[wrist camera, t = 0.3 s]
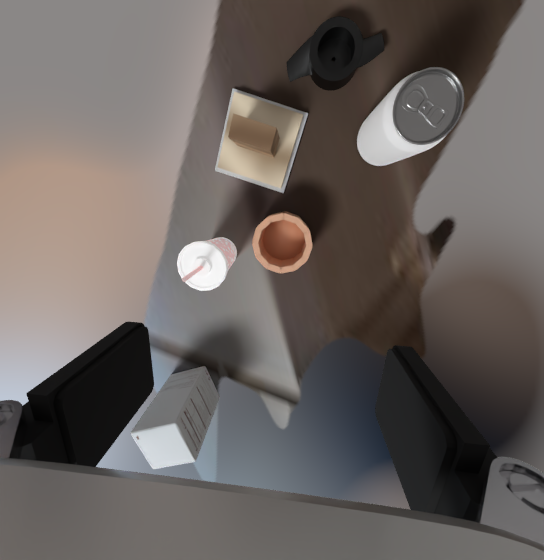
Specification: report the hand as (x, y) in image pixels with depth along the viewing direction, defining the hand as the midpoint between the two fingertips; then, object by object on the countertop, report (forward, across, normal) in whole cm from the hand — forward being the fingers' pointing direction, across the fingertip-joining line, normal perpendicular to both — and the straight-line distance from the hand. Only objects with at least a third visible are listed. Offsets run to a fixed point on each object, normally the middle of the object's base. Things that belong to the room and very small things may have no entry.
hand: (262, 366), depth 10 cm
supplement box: (+30, +15, +28) cm, 43 cm away
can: (+30, -11, -14) cm, 35 cm away
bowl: (+29, 0, -1) cm, 29 cm away
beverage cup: (+30, +10, +2) cm, 31 cm away
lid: (+29, +4, -13) cm, 32 cm away
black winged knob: (+30, -4, -22) cm, 37 cm away
